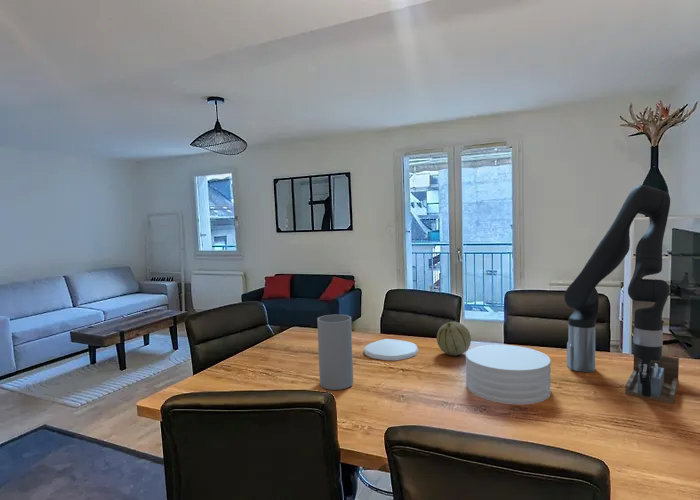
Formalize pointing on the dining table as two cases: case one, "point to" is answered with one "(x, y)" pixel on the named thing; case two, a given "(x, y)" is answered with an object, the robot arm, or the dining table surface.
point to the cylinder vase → (335, 351)
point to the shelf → (669, 379)
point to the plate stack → (508, 374)
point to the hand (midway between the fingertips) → (646, 395)
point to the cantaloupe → (453, 338)
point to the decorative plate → (391, 349)
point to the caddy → (654, 382)
